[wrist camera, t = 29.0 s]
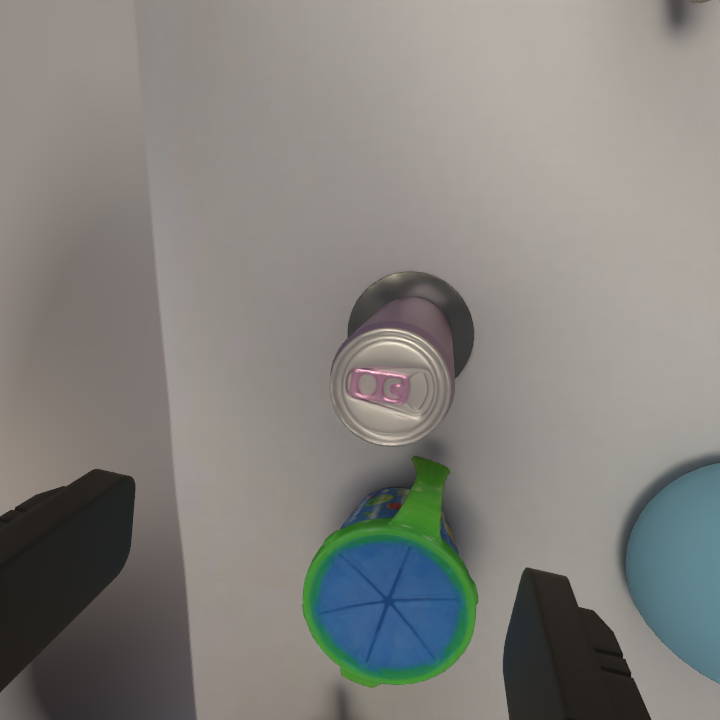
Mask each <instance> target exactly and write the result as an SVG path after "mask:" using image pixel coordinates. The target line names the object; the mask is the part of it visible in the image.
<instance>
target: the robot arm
mask: <svg viewBox="0 0 720 720" xmlns="http://www.w3.org/2000/svg"><path fill="white" fill-rule="evenodd" d="M134 500H135V481H134V479H133V478H132V477H131V476H127V475H122V474H118V473H114V472H109V471H104V470H100V469H94V470H92V471H90V472H88V473H87V474H85V475H84V476H82V477H81V478H79V479H77V480H76V481H74V482H73V483H71V484H69V485H68V486H66V487H65V486H62V487H59V488H56V489H53V490H50V491H47V492H43V493H40V494H37V495H35V496H34V497H32V498H30V499H28V500H27V501H25V502H23V503H22V504H20V505H18V506H17V507H16V508H15V510H10V511H8V512H7V513H5V514H3V515H2V516H0V692H1V691H2V690H3V689H4V688H5V687H6V686H7V685H8V684H9V683H10V682H11V681H12V680H13V679H14V678H15V677H16V676H17V675H18V674H19V673H20V672H21V671H22V670H23V669H24V668H25V667H26V666H27V665H28V664H29V663H30V662H31V661H32V660H33V659H34V658H35V657H36V656H37V655H38V654H39V653H40V652H41V651H42V650H43V649H44V648H45V647H46V646H47V645H48V644H49V643H50V642H51V641H52V640H53V639H54V638H55V637H56V636H57V635H58V634H59V633H60V632H61V631H62V630H63V629H64V628H65V627H66V626H67V625H68V624H69V623H70V622H71V621H72V620H73V619H74V618H75V617H77V615H78V614H80V613H81V612H82V611H83V610H84V609H85V608H86V607H87V605H89V604H90V603H91V601H92V600H94V599H95V598H96V597H97V596H98V595H99V594H100V593H101V591H102V590H104V589H105V588H106V586H108V585H109V584H110V583H111V582H112V581H113V580H114V579H115V578H116V577H117V576H118V574H119V573H120V571H121V570H122V568H123V567H124V565H125V563H126V560H127V558H128V555H129V551H130V547H131V538H132V525H133V513H134ZM503 675H504V682H505V690H506V698H507V705H508V713H509V720H651V718H650V716H649V713H648V711H647V709H646V706H645V704H644V702H643V699H642V697H641V695H640V692H639V690H638V688H637V686H636V683H635V681H634V679H633V678H631V672H630V669H629V667H628V665H627V662H626V660H625V659H623V653H622V651H621V649H620V646H619V644H618V642H617V639H616V637H615V635H614V632H613V631H612V630H611V629H610V628H609V627H608V626H607V625H606V624H605V622H604V621H603V620H602V619H601V618H600V617H599V616H598V615H597V614H596V613H595V612H594V611H593V610H589V609H585V608H581V607H578V604H577V602H576V599H575V596H574V593H573V591H572V588H571V585H570V582H569V580H568V578H567V577H566V576H563V575H558V574H554V573H550V572H545V571H541V570H536V569H532V568H528V567H527V568H525V570H524V571H523V573H522V576H521V580H520V584H519V588H518V592H517V596H516V600H515V604H514V607H513V611H512V615H511V619H510V623H509V627H508V631H507V635H506V640H505V646H504V655H503Z"/></svg>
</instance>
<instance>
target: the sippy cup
mask: <svg viewBox="0 0 720 720" xmlns="http://www.w3.org/2000/svg"><path fill="white" fill-rule="evenodd" d="M412 461H413V463H414V465H415V468H416V479H415V481H414V484H413V486H412V487H411V488H388V489H382V490H380V491H378V492H376V493H374V494H370V495H368V496H367V497H366V498H365V499H364V500H363V501H362V502H361V503H360V504H359V506H358V507H357V508H356V509H355V510H354V512H353V513H352V514H351V515H350V517H349V518H348V519H347V521H346V522H345V523H344V524H343V526H342V527H341V528H340V530H337V531H335V532H334V533H332V534H331V535H330V536H329V537H328V538H326V539H325V541H324V544H323V545H322V547H321V548H320V549H319V551H318V552H317V554H316V555H315V557H314V558H313V560H312V562H311V565H310V567H309V570H308V572H307V575H306V579H305V583H304V589H303V604H302V607H303V614H304V618H305V619H306V621H307V625H308V627H309V630H310V632H311V634H312V636H313V638H314V639H315V641H316V643H317V644H318V645H319V647H320V648H321V649H322V650H323V651H324V653H325V654H326V655H327V656H328V657H329V658H330V659H332V660H333V661H334V662H335V663H336V664H338V665H339V666H340V670H341V674H342V676H343V677H345V678H347V679H349V680H351V681H353V682H356V683H358V684H361V685H364V686H367V687H371V688H373V687H376V686H378V685H379V684H381V683H383V684H391V685H404V684H413V683H417V682H421V681H425V680H427V679H430V678H432V677H435V676H437V675H439V674H440V673H442V672H444V671H446V670H447V669H448V668H449V667H451V666H452V665H453V664H454V663H455V662H456V661H457V660H458V659H459V658H460V656H461V655H462V654H463V653H464V651H465V650H466V648H467V646H468V644H469V642H470V640H471V637H472V635H473V631H474V626H475V620H476V604H477V603H478V594H477V589H476V585H475V583H474V581H473V580H472V579H471V577H470V575H469V573H468V570H467V568H466V566H465V564H464V562H463V561H462V559H461V558H460V556H459V553H458V550H457V547H456V544H455V541H454V538H453V535H452V533H451V529H450V526H449V524H448V521H447V520H446V517H445V514H444V513H443V512H442V510H441V507H442V499H443V489H444V484H445V480H446V478H447V476H448V475H449V473H450V470H449V469H448V468H447V467H446V466H444V465H442V464H440V463H437V462H434V461H431V460H428V459H425V458H421V457H418V456H414V457H412Z"/></svg>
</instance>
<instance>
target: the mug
mask: <svg viewBox="0 0 720 720" xmlns="http://www.w3.org/2000/svg"><path fill="white" fill-rule="evenodd" d="M688 1H691V2H694V3H702V2H706V1H710V0H688Z"/></svg>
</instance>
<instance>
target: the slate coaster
mask: <svg viewBox="0 0 720 720" xmlns="http://www.w3.org/2000/svg"><path fill="white" fill-rule="evenodd" d="M403 297H416V298H421V299H424V300H427V301H429V302H431V303H432V304H434V305H435V306H437V307H438V308H439V309H440V310H441V311H442V312H443V313H444V315H445V316H446V318H447V320H448V322H449V324H450V327H451V331H452V339H453V356H454V373H455V378H456V377H457V376H458V375H459V374H460V372H461V371H462V370H463V368H464V367H465V365H466V363H467V361H468V359H469V357H470V354H471V351H472V347H473V340H474V329H473V322H472V318H471V314H470V312H469V310H468V307H467V305H466V303H465V302H464V300H463V299H462V297H461V296H460V295H459V293H458V292H457V291H456V290H455V289H454V288H453V287H452V286H450V285H449V284H447V283H446V282H445V281H443V280H441V279H439V278H437V277H435V276H432V275H430V274H425V273H421V272H401V273H395V274H392V275H389V276H386V277H384V278H382V279H380V280H378V281H377V282H375V283H374V284H372V285H371V286H370V287H369V288H368V289H367V290H366V291H365V292H364V293H363V294H362V295H361V296H360V298H359V299H358V301H357V302H356V304H355V306H354V308H353V310H352V313H351V316H350V320H349V324H348V338H349V337H350V336H351V335H352V334H353V333H354V332H355V331H356V330H357V329H358V328H359V327H361V326H362V325H363V324H364V323H365V322H366V321H367V320H368V319H369V318H370V317H372V316H373V315H374V314H375V313H376V312H377V311H378V310H379V309H380V308H382V307H383V306H384V305H385V304H387V303H389V302H391V301H393V300H395V299H398V298H403Z"/></svg>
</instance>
